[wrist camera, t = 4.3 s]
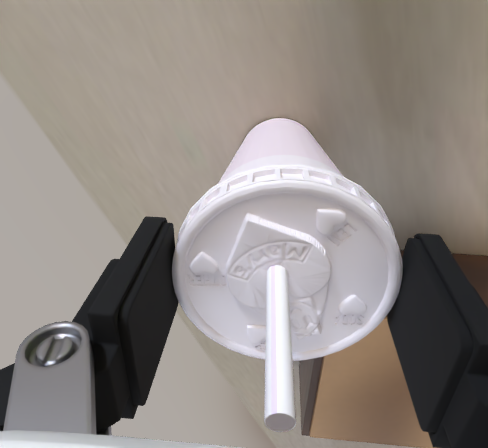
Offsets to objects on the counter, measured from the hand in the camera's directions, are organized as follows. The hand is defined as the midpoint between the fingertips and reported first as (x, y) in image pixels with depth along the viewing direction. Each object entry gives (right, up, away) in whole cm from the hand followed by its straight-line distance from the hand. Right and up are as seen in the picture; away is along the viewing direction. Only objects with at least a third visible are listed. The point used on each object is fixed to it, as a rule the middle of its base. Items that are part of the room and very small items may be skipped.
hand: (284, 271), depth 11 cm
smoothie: (+1, +5, +8) cm, 9 cm away
